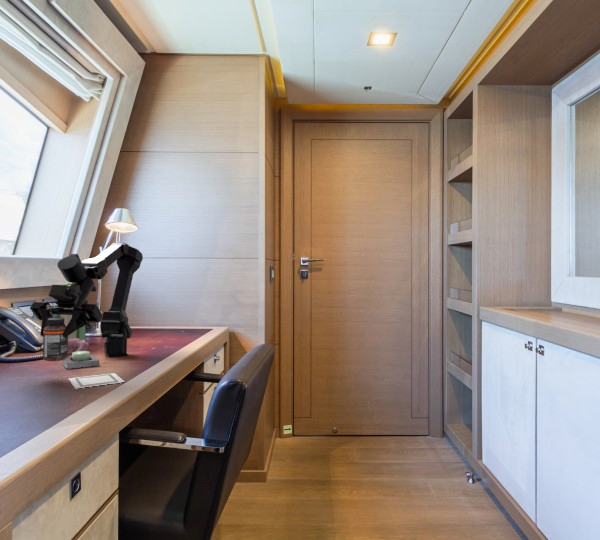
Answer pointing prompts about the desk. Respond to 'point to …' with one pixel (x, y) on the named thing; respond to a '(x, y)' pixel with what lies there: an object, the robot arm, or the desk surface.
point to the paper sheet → (95, 380)
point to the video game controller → (77, 345)
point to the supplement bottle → (55, 340)
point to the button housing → (80, 362)
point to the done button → (80, 356)
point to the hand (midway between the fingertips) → (52, 336)
